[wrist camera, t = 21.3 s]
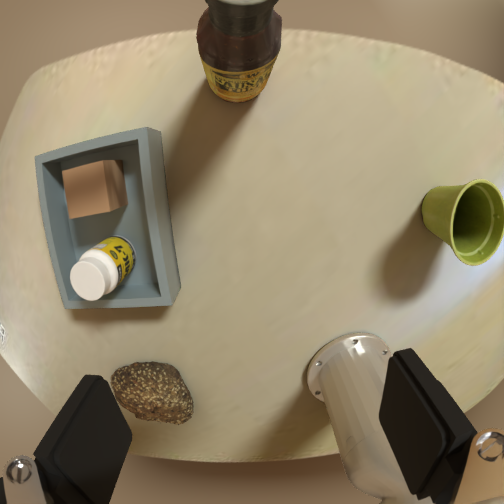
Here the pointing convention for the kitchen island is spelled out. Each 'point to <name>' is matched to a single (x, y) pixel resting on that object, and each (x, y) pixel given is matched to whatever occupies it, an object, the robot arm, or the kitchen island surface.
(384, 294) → the kitchen island surface
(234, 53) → the sauce bottle
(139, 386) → the bread roll
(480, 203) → the plant pot
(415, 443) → the robot arm
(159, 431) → the kitchen island surface
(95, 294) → the supplement bottle
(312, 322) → the kitchen island surface
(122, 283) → the tote
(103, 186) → the walnut block
